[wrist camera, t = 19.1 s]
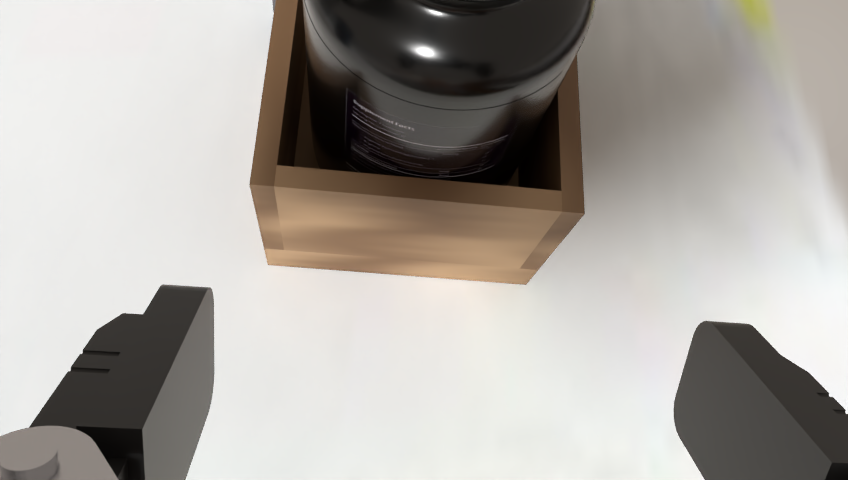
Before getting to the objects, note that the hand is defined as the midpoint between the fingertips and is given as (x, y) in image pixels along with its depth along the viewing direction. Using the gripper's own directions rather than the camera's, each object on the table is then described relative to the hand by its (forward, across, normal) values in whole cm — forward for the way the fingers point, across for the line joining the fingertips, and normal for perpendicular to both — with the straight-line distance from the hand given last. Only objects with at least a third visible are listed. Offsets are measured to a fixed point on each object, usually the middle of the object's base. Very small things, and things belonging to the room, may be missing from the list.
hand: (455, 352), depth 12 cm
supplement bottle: (+13, 0, 0) cm, 13 cm away
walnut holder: (+14, 0, +1) cm, 14 cm away
